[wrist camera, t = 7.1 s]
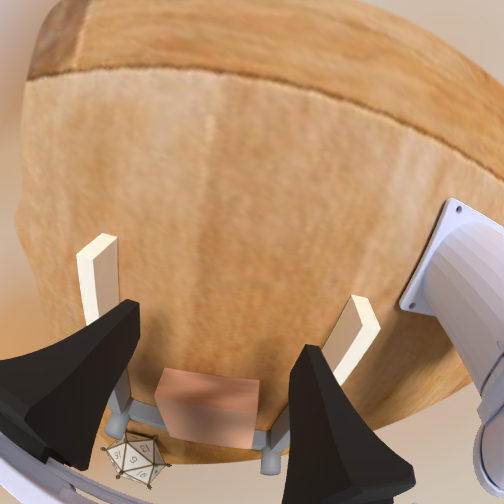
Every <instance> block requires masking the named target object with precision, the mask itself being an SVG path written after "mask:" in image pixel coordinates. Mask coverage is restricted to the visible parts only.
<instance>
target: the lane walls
mask: <svg viewBox="0 0 504 504" xmlns="http://www.w3.org/2000/svg"><path fill="white" fill-rule="evenodd" d="M76 255H77V265H78V274H79V282H80V289H81V296H82V302H83V308H84V314H85V319H86V324H87V326H88V325H89V324H91V323H92V322H94V321H95V320H97V319H98V318H100V317H101V316H103V315H104V314H106V313H107V312H108V311H110V310H111V309H113V308H114V307H116V306H117V305H118V304H120V303H119V285H118V237H115V236H111V235H107V234H104V233H102V234H101V235H99V236H98V237H97V238H96V239H94V240H93V241H92V242H91V243H89V244H88V245H87V246H86V247H85V248H83V249H82V250H81V251H80V252H79V253H77V254H76ZM380 329H381V328H380V326H379V324H378V321H377V319H376V317H375V314H374V312H373V310H372V308H371V305H370V303H369V301H368V299H367V298H364V297H360V296H355V295H351V296H350V298H349V300H348V302H347V304H346V306H345V308H344V310H343V312H342V314H341V316H340V318H339V320H338V322H337V323H336V325H335V327H334V329H333V331H332V333H331V334H330V336H329V338H328V340H327V341H326V343H325V345H324V347H323V348H322V350H321V351H322V353H323V355H324V357H325V359H326V361H327V363H328V365H329V367H330V369H331V371H332V372H333V374H334V376H335V378H336V380H337V382H338V383H339V385H340V386H341V385H342V384H343V382H344V381H345V380H346V378H347V377H348V376H349V374H350V373H351V372H352V370H353V369H354V368H355V366H356V365H357V363H358V362H359V361H360V359H361V358H362V356H363V355H364V353H365V352H366V350H367V349H368V348H369V346H370V345H371V343H372V342H373V340H374V338H375V337H376V335H377V334H378V332H379V331H380Z"/></svg>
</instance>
